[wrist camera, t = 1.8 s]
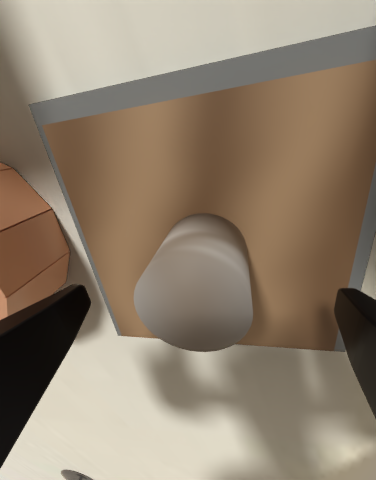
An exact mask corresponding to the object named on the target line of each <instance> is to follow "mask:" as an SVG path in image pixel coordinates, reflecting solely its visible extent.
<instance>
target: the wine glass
mask: <svg viewBox="0 0 376 480" xmlns="http://www.w3.org/2000/svg"><path fill="white" fill-rule="evenodd" d="M61 475H62V476H63V477H64V478H65V479H66V480H92V479H91V478H89V477H87V476H85V475H83V474H80V473H78V472H74V471H70V470H62V471H61Z"/></svg>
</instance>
